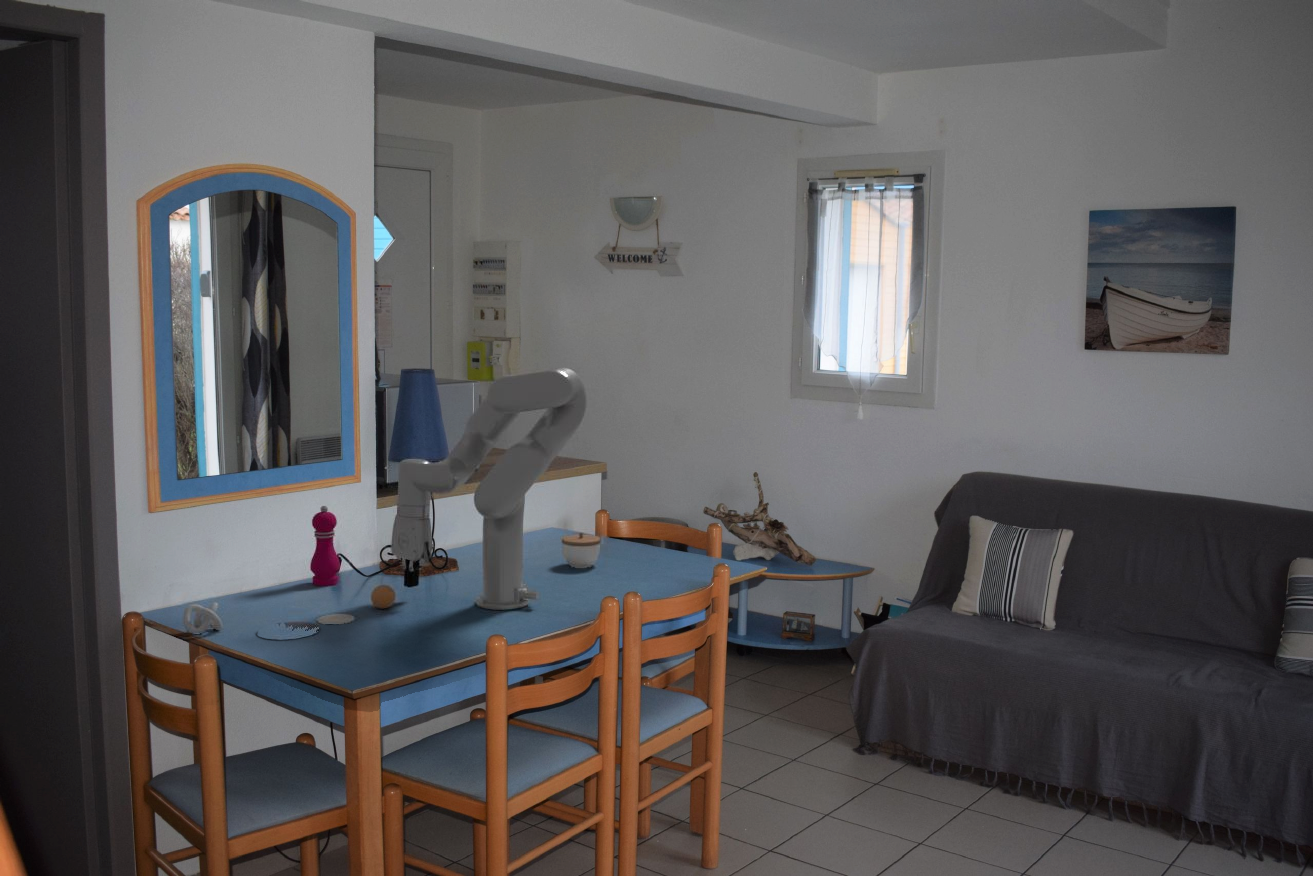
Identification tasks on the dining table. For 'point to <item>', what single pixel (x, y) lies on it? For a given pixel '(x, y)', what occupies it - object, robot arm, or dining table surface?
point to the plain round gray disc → (335, 619)
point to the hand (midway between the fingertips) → (411, 585)
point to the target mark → (301, 625)
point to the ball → (383, 596)
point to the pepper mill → (324, 549)
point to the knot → (206, 621)
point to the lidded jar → (581, 550)
